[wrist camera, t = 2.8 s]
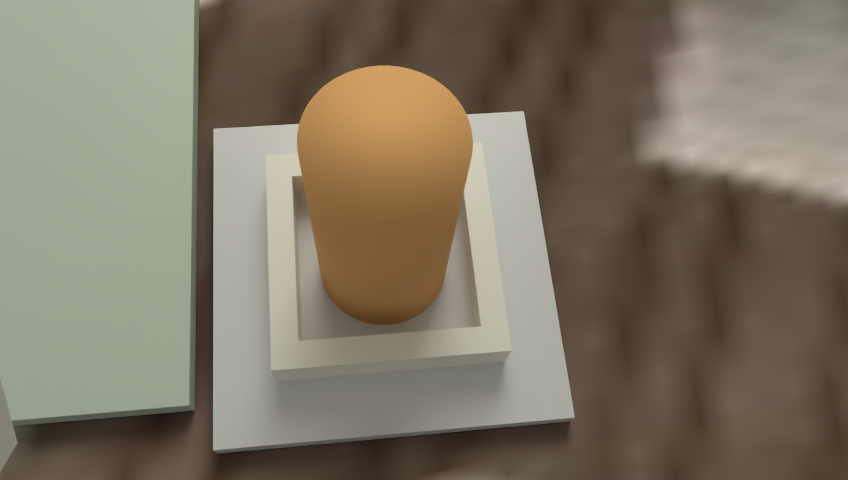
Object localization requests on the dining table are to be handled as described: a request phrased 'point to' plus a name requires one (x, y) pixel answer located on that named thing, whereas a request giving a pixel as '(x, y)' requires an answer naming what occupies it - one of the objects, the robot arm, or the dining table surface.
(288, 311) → the base
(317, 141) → the orange plug
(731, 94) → the dining table surface
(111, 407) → the sage board
